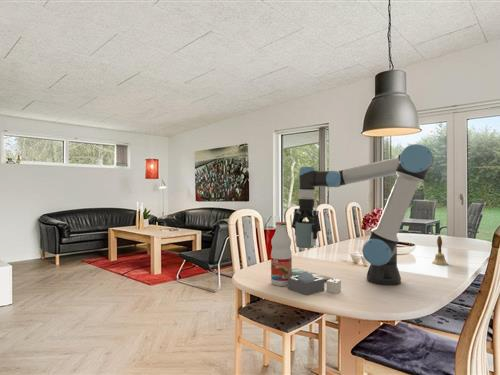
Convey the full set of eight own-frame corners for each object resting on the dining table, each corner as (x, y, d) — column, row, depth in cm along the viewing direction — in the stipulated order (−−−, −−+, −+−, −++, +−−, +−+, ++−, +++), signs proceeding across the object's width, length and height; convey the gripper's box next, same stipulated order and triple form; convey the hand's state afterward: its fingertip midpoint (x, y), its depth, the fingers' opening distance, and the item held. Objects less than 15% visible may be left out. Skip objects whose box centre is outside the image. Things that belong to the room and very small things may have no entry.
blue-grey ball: (317, 288, 148) (317, 271, 148) (306, 291, 144) (306, 273, 144) (305, 284, 154) (305, 268, 154) (294, 287, 149) (294, 270, 149)
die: (340, 290, 147) (340, 280, 147) (336, 293, 144) (336, 282, 144) (331, 288, 150) (331, 278, 150) (326, 291, 146) (326, 280, 146)
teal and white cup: (294, 244, 174) (295, 220, 174) (315, 245, 173) (315, 221, 173) (295, 248, 164) (295, 222, 164) (316, 248, 163) (317, 223, 163)
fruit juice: (296, 283, 158) (295, 222, 158) (282, 287, 151) (282, 223, 151) (280, 279, 165) (279, 221, 165) (266, 283, 158) (266, 222, 158)
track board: (332, 280, 164) (332, 277, 164) (314, 284, 156) (314, 282, 156) (296, 270, 184) (296, 267, 184) (277, 273, 176) (277, 271, 176)
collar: (324, 290, 148) (324, 278, 148) (306, 295, 141) (306, 283, 141) (305, 284, 156) (305, 273, 156) (287, 288, 150) (287, 277, 150)
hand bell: (432, 264, 198) (432, 236, 198) (431, 261, 206) (431, 235, 206) (449, 265, 195) (449, 237, 195) (447, 263, 203) (447, 235, 203)
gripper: (329, 199, 162) (328, 246, 163) (295, 197, 180) (294, 240, 180) (319, 199, 158) (317, 248, 158) (285, 197, 175) (283, 241, 175)
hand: (305, 244), depth 169 cm, fingers closed on teal and white cup, 10 cm apart
